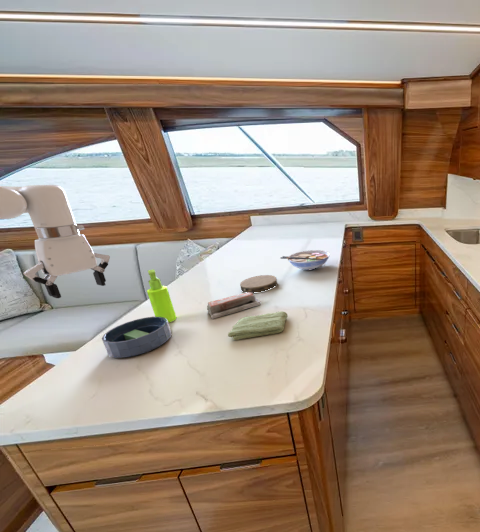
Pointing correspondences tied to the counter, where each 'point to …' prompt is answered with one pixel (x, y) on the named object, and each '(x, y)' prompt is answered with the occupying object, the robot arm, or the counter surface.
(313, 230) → the counter surface
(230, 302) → the packaged product
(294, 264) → the ramen bowl
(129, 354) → the bowl
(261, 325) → the washcloth
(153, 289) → the soap dispenser
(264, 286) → the brown round disc
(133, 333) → the green bar
